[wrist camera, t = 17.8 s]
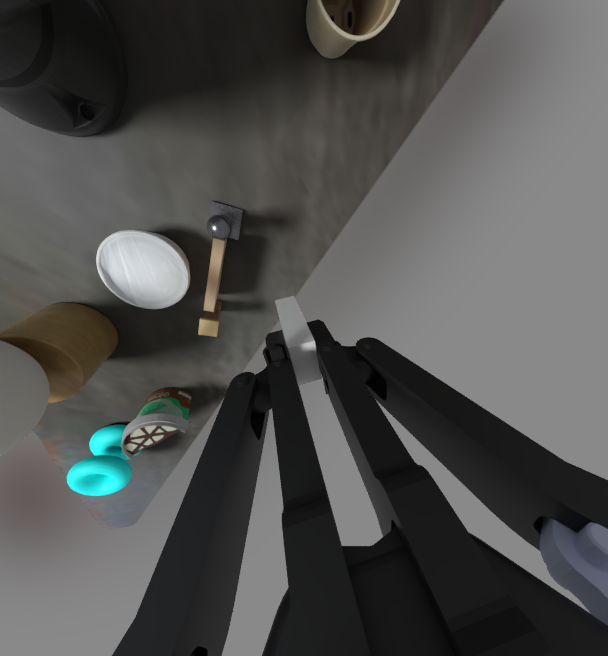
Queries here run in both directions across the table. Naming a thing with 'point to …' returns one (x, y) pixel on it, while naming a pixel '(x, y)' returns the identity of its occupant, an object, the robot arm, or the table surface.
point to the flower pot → (346, 23)
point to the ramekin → (143, 268)
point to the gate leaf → (214, 273)
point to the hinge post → (224, 221)
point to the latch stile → (210, 321)
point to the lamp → (48, 363)
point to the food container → (157, 420)
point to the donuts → (102, 465)
